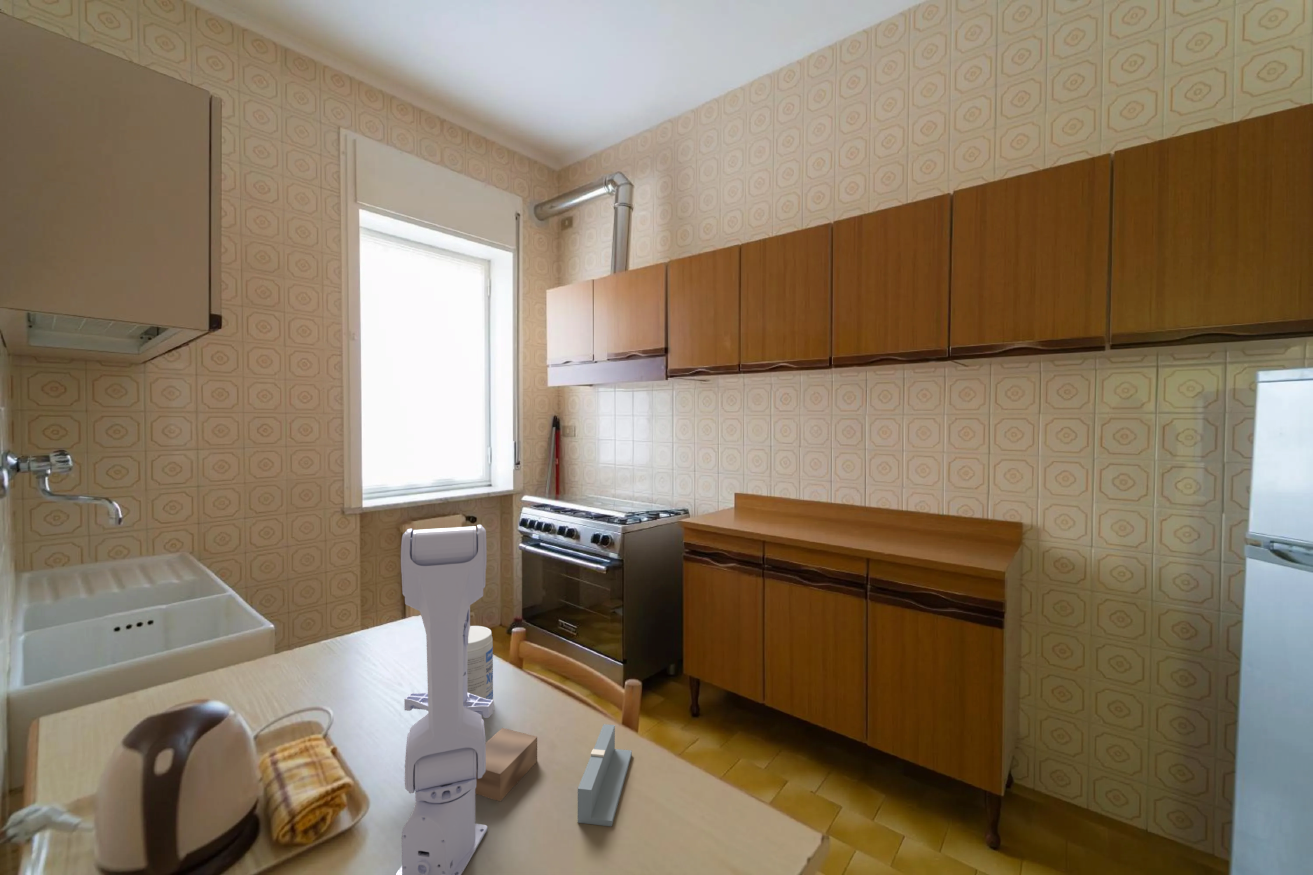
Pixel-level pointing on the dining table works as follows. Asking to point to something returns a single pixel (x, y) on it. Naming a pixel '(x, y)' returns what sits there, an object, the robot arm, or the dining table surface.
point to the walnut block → (506, 762)
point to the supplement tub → (480, 662)
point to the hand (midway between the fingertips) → (449, 754)
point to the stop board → (603, 780)
